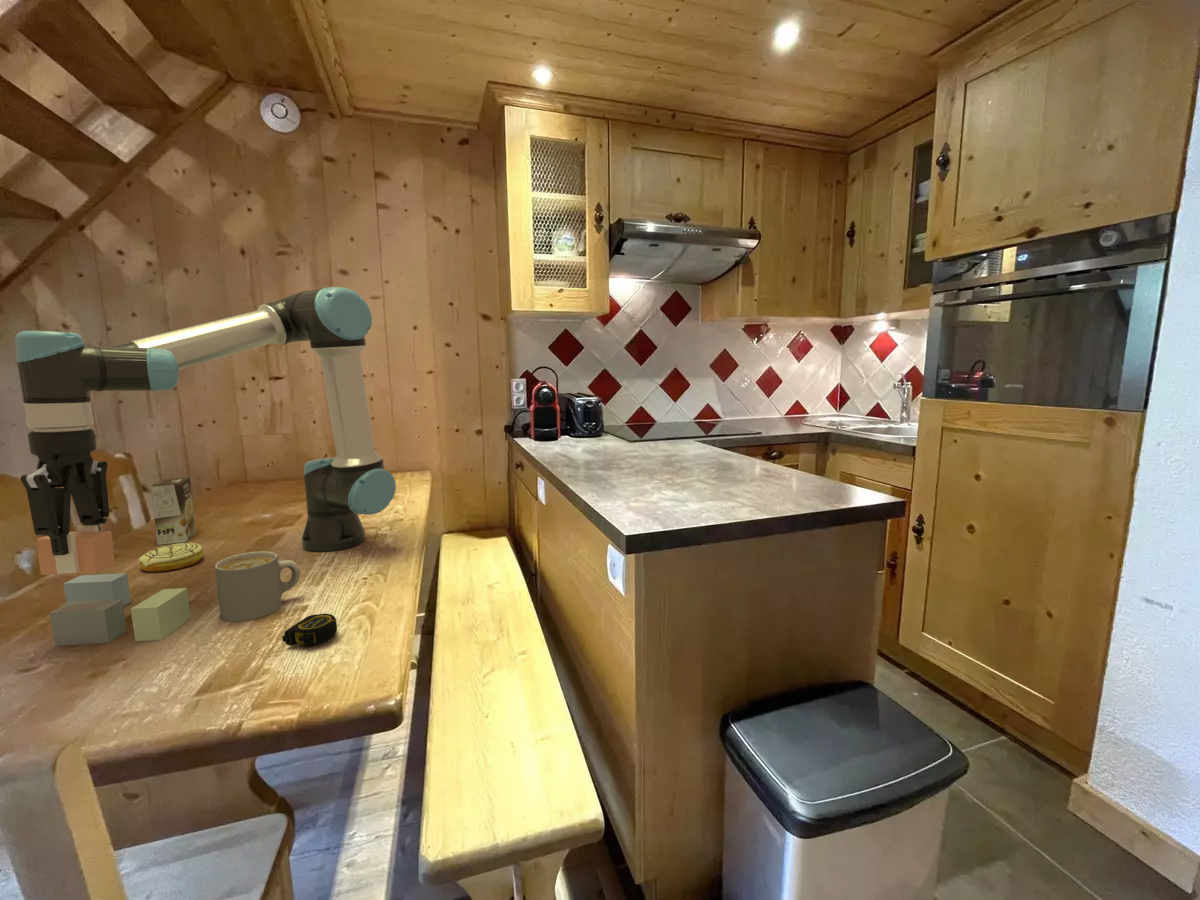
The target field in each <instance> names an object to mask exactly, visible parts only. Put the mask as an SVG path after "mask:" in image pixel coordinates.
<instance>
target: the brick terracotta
mask: <svg viewBox="0 0 1200 900" xmlns="http://www.w3.org/2000/svg"><path fill="white" fill-rule="evenodd" d="M69 533H75V540H76V547H77V554H78V562H79V569H80V571H79V572H77V573H60V574H59V575H96V574H98V573H100V572H102V571H104V570H105V571H106V569H109V568H110V567H114V566H115V565H116V561H115V553H114V544H113V543H114V542H113V533H112V531H111V530H108V531H106V530H105V531H101V530H100V531H97V532H77V531H69ZM36 546H37V554H38V562H39V568H40V569H39V570H40V575H41V576H44V575H47V576H48V575H53V576H54V575H58V574H57V568H56V561H55V556H54V555H53V553H52V547H51V541H50V537H49V536H41V537H40V538H37V539H36Z"/></svg>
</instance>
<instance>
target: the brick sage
mask: <svg viewBox="0 0 1200 900" xmlns="http://www.w3.org/2000/svg"><path fill="white" fill-rule="evenodd" d="M188 592H189V591H188V588H187V587H183V588H182V587H180V588H179V587H178V588H163V589H161V590H160V591H158V592H155V593H154V594H152V595H151V596H149V597H147V599H144V600H142V601H141V602H140V603H138V604H136V605H135V606H133V607H131V608H130V614H131V620H132V626H133V635H134V642H146V641H159V640H160V641H162V640H163V639H165V638H166V637H167V636H169V635H170V634H171V633H173V632H174V631H175V630H176V629H178V628H180V626H182V625H184V624H185V623H186V622H188V621H189V620H191V618H192V617H191V609H190V600H189V593H188Z"/></svg>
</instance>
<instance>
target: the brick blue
mask: <svg viewBox="0 0 1200 900" xmlns="http://www.w3.org/2000/svg"><path fill="white" fill-rule="evenodd" d="M63 590H64V596H65V602H66V603H65V604H68V603H70V602H84V601H105V600H122V601H123V607H124V606H126V605H128V604H130V603H131V602H132V600H131V599H132V598H131V592H130V585H129V578H128V573H103V574H80V575H79V576H76V577H74V578H72V579H70V580H68V581H65V582H64V583H63Z"/></svg>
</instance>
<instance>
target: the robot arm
mask: <svg viewBox="0 0 1200 900" xmlns="http://www.w3.org/2000/svg"><path fill="white" fill-rule="evenodd" d="M372 316H373V315H372V312H371V309H370V307H369V305H368V303H367V302H366V301H365V299H364V298H363V297H362V296H360V294H359V293H357V292H356V291H354V290H353V289H350V288H347V287H340V286H338V287H337V286H336V287H335V286H331V287H330V286H329V287H324V288H319V289H318V288H317V289H311V290H302V291H299V292H297V293H294V294H291V295H289V296H285V297H284V298H280V299H277V300H274V301H271V302H266V303H263V304H260V305H259V306H258V308H257V309H256V310H254V311H250V312H246V313H242V314H238V315H233V316H229V317H225V318H221V319H217V320H213V321H209V322H206V323H204V322H203V323H201V324H197V325H192V326H189V327H183V328H179V329H175V330H171V331H168V332H167V331H166V332H164V333H163V332H162V333H159V334H155V335H152V336H151V335H150V336H147V337H143V338H139V339H134V340H131V341H128V342H122V343H119V344H113V345H111V346H95V345H86V344H85V342H84V341H83V337H82V336H81V335H80V334H79V333H76V332H66V331H65V332H64V331H54V330H53V331H51V330H49V331H48V330H23V331H20V332H18V333H17V334H16V335H15V337H14V342H15V356H16V358H15V363H16V364H17V365H16V366H17V371H18V377H19V383H20V384H19V385H20V388H21V389H20V390H21V395H22V396H21V397H22V402H23V406H24V413H25V421H26V427H27V428H29V429H32V431H30V432H29V433H27V438H28V445H29V450H30V454H32V455H34V456H36V457H37V458H38V463H37V466H36V470H35V471H34V472H32V473H31V474H22V475H21V476H20V481H21V483H22V485H23V486H24V488H25V490H26V493H27V499H28V504H29V509H30V515H31V519H32V525H33V531H34V534H35V535H36V536H41V537H45V536H49V537H50V541H51V547H52V553H53V555H54V556H55V561H56V568H57V574H56V575H61V574H60V573H77V572H79V571H80V569H79V562H78V554H77V547H76V540H75V533H69V532H70V530H71V529H70V528H71V526H70V525H71V502H72V500H73V503H74V506H75V509H76V513H77V515H78V518H79V521H80V524H82V525H77V526H76V532H97V531H101V528H100V524H101V525H103V524H107V520H108V519H107V518H109V516H110V505H109V495H108V483H107V471H108V470H107V469H108V462H107V461H105V460H104V461H103V460H102V461H98V460H94V458H93V456H92V455H91V452H95V451H96V449H97V441H96V435H95V433H96V432H95V430H93V429H92V428H90V427H92V426H93V425H94V424H95V423H94V415H93V409H92V403H91V402H92V401H91V397H90V392H111V391H112V392H113V391H114V392H117V391H118V392H138V391H139V392H141V391H142V392H144V391H145V392H146V391H148V392H149V391H151V392H156V391H169V390H173V389H175V387H176V386H177V384H178V382H179V377H180V376H179V375H180V374H179V371H181V370H184V369H188V368H191V367H194V366H198V365H201V364H205V363H209V362H211V361H212V362H213V361H214V360H219V359H222V358H226V357H228V356H232V355H235V354H238V353H243V352H246V351H249V350H250V351H251V350H253V349H256V348H260V347H264V346H268V345H270V344H275V345H276V346H283V345H286V344H290V343H296V342H307V341H308V342H309V344H310V349H311V351H313V352H314V353H316V354H317V355H318V356H319V358H320V364H321V365H320V366H321V371H322V377H323V382H324V388H325V394H326V399H327V405H328V406H327V407H328V412H329V417H330V423H331V429H332V435H333V440H334V441H333V442H334V447H335V452H336V456H333V457H326V458H319V459H313V460H308V461H306V462H305V464H304V465H303V478H304V489H305V501H306V512H307V519H306V521H305V524H304V525H305V526H304V530H303V532H302V535H301V536H302V537H301V546H302V547H301V548H302V549H303V550H305V551H310V552H331V551H332V552H333V551H341V550H345V549H349V548H352V547H353V548H354V547H355V546H358V545H360V544H362V543H363V542H365V540H366V531H365V528H364V526H363V523H362V521H361V518H360V517H359V515H367V516H368V515H369V516H370V515H376V514H378V513H381V512H382V511H383V510H385V509H386V508H387V507H388V506H389V505H390V504H391V501H393V500H394V498H395V494H396V489H397V483H396V479H395V477H394V476H393V474H392V473H391V472H390V471H388V470H387V469H385V465H384V459H383V455H381V454H380V453H379V452H377V451H376V450H375V444H374V436H373V430H372V422H371V418H370V410H369V403H368V396H367V392H366V391H367V390H366V384H365V379H364V378H365V377H364V372H363V364H362V358H361V355H362V354H361V353H362V352H363V351H364V350H365V348H366V347H367V343H366V338H365V337H366V335H367V334H369V331H370V329H371V327H372V324H373V318H372ZM71 499H72V500H71Z"/></svg>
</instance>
